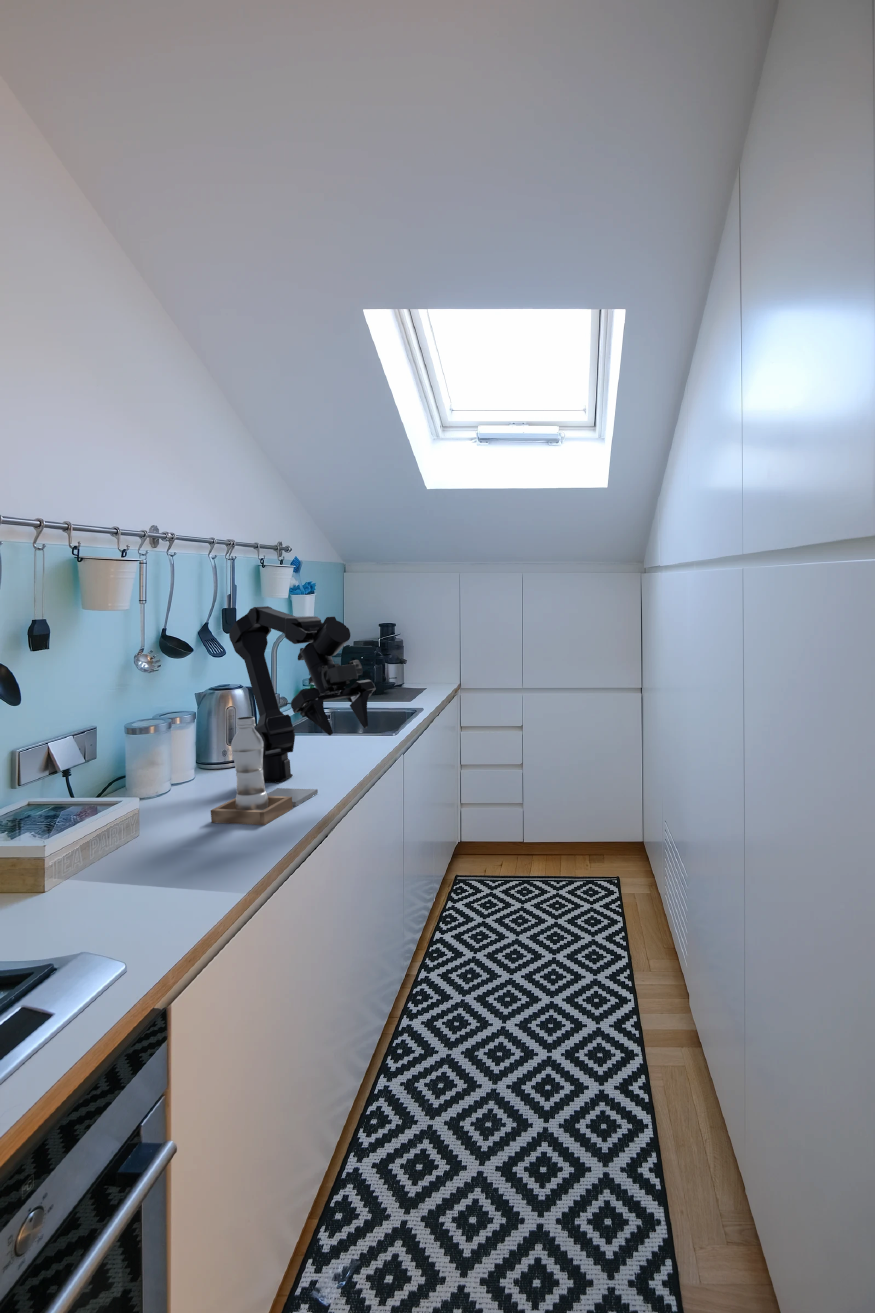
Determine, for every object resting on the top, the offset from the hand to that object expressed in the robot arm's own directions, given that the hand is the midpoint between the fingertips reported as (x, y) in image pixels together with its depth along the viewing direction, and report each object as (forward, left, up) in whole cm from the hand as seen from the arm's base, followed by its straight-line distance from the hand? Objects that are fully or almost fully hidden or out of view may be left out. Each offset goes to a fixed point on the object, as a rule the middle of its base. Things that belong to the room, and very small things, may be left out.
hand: (349, 730), depth 159 cm
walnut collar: (-16, -13, -15) cm, 26 cm away
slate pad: (-15, -1, -15) cm, 22 cm away
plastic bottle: (-16, -13, -15) cm, 26 cm away
